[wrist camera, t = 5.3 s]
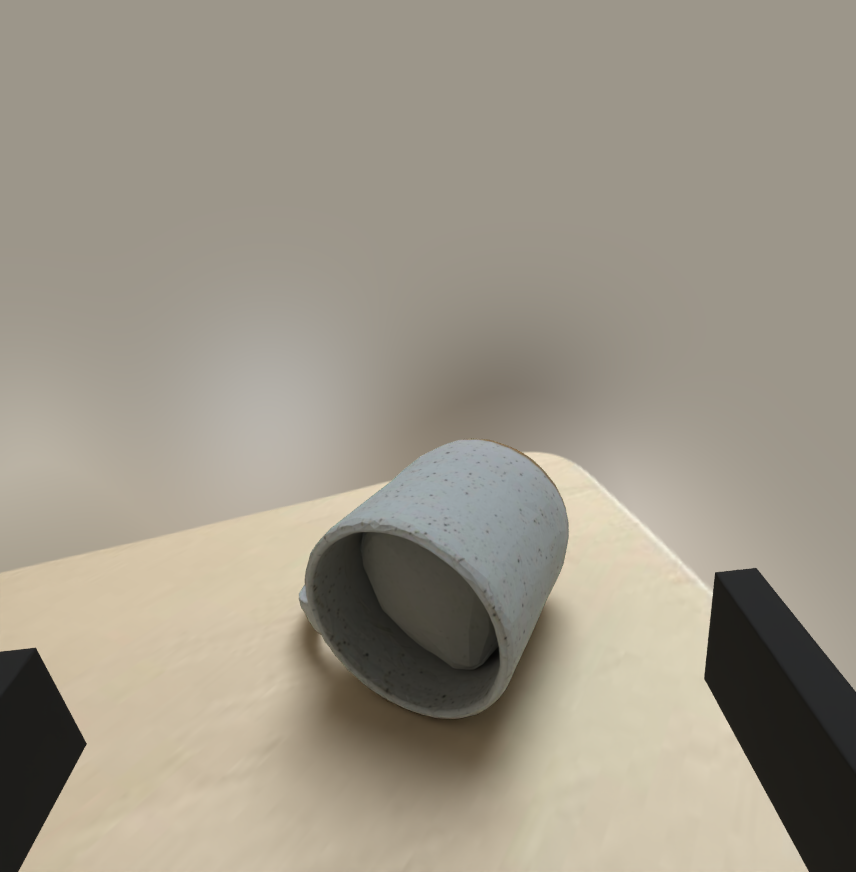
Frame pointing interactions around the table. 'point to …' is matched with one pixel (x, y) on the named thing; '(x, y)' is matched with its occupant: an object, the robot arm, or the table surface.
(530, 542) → the ceramic mug
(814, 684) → the robot arm
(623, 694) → the table surface
